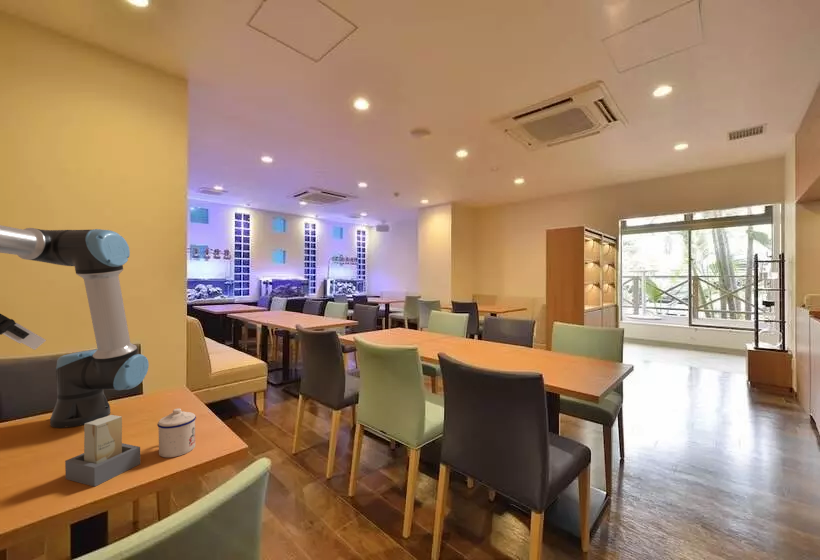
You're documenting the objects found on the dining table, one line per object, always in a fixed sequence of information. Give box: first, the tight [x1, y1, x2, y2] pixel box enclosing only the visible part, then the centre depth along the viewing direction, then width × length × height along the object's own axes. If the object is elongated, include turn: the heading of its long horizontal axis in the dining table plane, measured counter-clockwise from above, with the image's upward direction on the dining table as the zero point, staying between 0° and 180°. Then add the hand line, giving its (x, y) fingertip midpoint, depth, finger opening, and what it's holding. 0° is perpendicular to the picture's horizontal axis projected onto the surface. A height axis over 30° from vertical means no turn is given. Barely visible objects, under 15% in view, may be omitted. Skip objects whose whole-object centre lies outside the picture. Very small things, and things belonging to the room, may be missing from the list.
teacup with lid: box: [157, 408, 197, 458], centre depth 101 cm, size 12×9×12 cm
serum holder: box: [64, 442, 141, 488], centre depth 89 cm, size 10×10×4 cm
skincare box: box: [83, 414, 123, 464], centre depth 89 cm, size 6×4×12 cm
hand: (32, 341), depth 85 cm, fingers open, 13 cm apart
